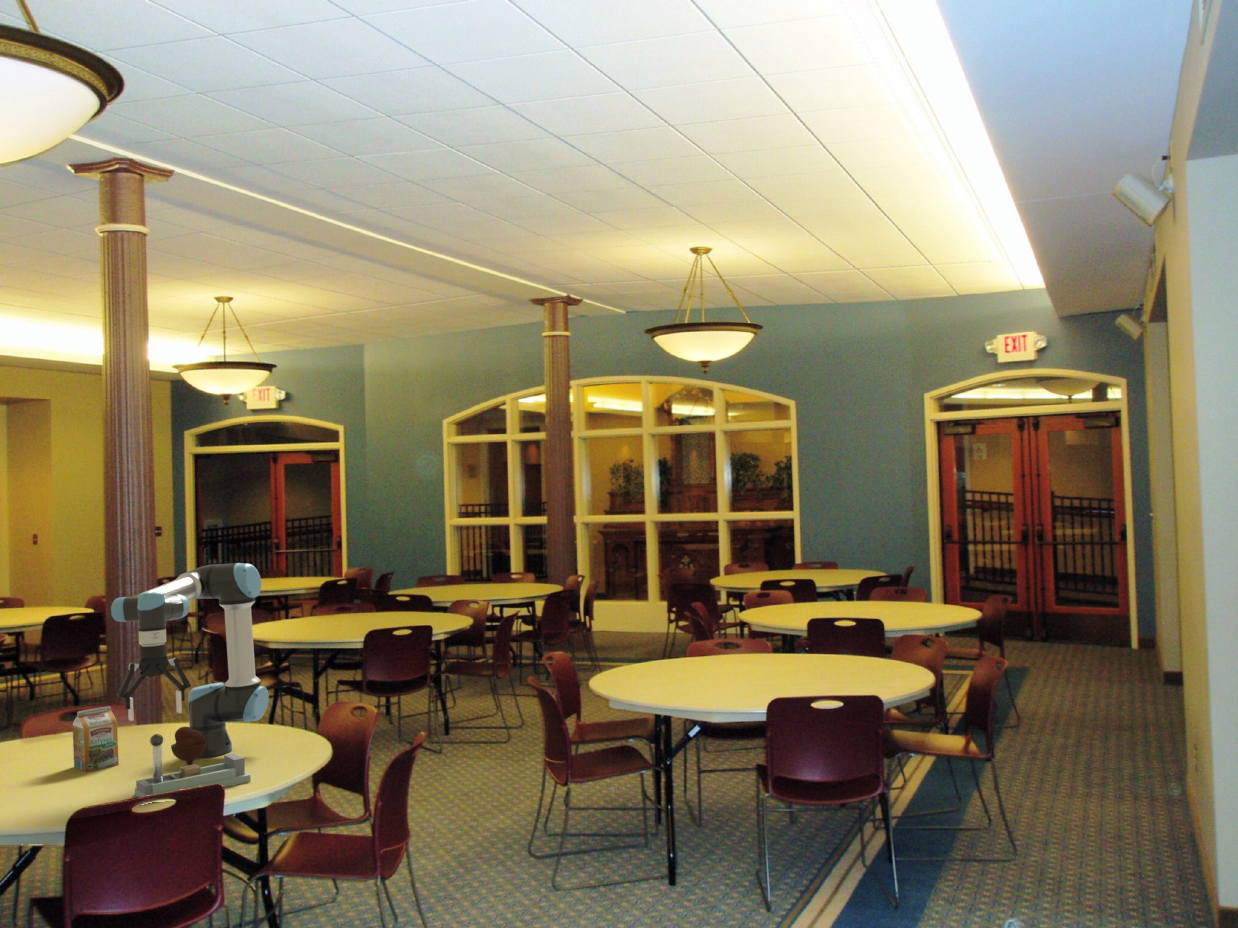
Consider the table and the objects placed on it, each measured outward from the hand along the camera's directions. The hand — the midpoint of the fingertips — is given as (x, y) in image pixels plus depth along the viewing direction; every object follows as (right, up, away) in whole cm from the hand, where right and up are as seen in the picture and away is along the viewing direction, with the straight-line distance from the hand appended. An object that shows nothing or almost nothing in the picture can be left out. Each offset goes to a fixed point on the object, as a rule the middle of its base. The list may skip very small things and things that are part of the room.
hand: (155, 716), depth 320 cm
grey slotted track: (+9, -23, +6) cm, 25 cm away
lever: (+2, -21, +1) cm, 21 cm away
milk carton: (-37, -26, +41) cm, 61 cm away
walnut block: (+8, -21, +6) cm, 23 cm away
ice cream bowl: (+1, -24, +24) cm, 34 cm away
